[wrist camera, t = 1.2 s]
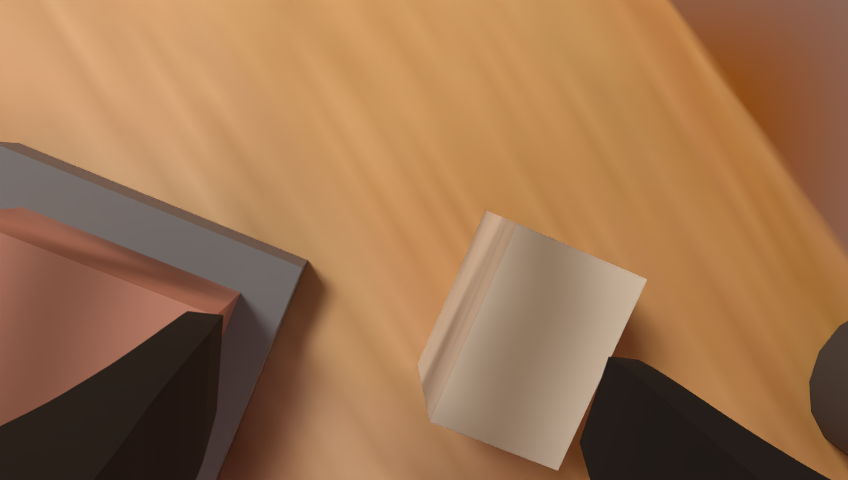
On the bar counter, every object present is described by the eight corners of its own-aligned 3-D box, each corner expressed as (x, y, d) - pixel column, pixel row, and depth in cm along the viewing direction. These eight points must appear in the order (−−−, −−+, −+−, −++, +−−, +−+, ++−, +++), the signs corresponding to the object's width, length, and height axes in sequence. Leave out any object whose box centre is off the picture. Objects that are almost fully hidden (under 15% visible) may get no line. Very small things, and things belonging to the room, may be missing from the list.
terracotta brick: (240, 292, 19) (215, 315, 16) (161, 485, 20) (123, 542, 17) (22, 206, 18) (-46, 214, 15) (-54, 411, 19) (-134, 456, 16)
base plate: (307, 260, 21) (302, 267, 19) (201, 514, 22) (188, 540, 20) (19, 143, 20) (-11, 141, 18) (-82, 417, 20) (-118, 437, 19)
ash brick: (585, 253, 22) (647, 279, 17) (517, 402, 22) (557, 470, 17) (484, 210, 21) (517, 223, 16) (417, 363, 22) (429, 421, 17)
